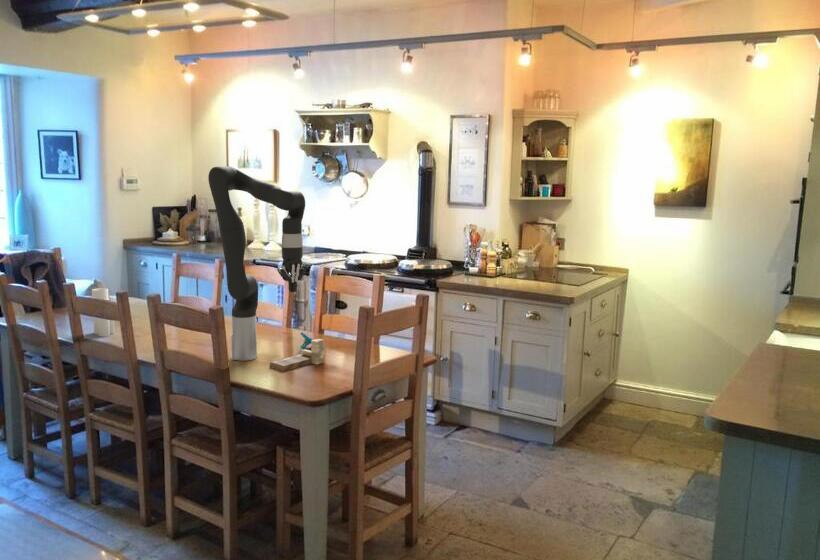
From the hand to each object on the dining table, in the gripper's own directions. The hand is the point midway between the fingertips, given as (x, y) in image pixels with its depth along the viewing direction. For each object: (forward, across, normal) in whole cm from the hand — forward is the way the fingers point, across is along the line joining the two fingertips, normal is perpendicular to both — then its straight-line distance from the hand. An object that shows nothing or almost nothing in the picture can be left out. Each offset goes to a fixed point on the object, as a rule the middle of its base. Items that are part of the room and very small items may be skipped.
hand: (292, 291), depth 245 cm
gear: (+29, -22, -16) cm, 40 cm away
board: (+29, -4, -3) cm, 29 cm away
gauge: (+29, -10, 0) cm, 30 cm away
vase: (+29, +21, -103) cm, 109 cm away
